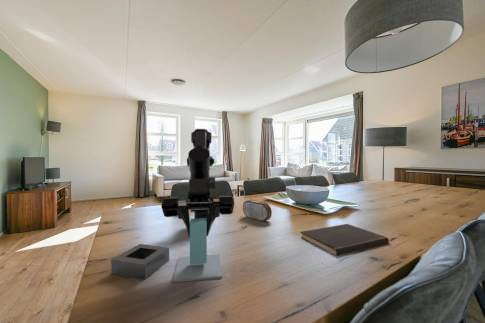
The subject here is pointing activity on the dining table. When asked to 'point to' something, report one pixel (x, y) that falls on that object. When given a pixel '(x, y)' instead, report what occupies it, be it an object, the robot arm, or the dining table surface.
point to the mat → (197, 269)
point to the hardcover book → (344, 238)
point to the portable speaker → (257, 210)
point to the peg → (198, 241)
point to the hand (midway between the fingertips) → (198, 236)
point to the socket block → (140, 261)
